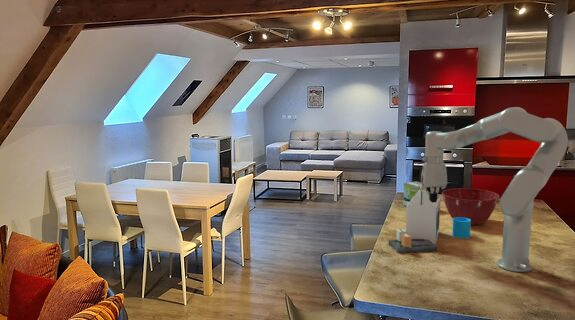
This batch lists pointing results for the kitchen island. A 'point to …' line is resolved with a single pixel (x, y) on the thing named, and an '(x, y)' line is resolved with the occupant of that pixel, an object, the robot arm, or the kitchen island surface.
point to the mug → (461, 227)
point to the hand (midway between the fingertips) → (433, 201)
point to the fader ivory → (399, 234)
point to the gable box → (423, 216)
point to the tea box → (410, 191)
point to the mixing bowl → (470, 203)
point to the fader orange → (406, 240)
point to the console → (414, 246)
